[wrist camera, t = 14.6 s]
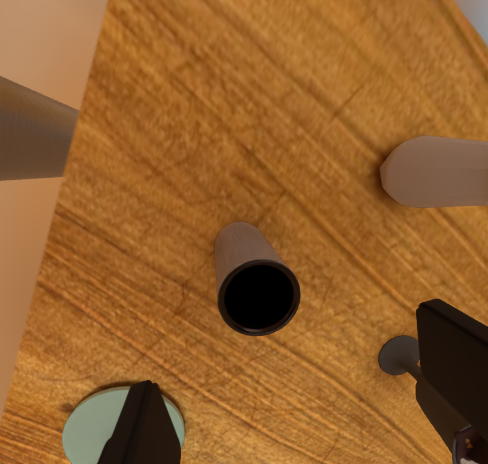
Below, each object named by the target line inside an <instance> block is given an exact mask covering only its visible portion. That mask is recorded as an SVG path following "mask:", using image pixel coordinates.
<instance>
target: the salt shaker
mask: <svg viewBox="0 0 488 464" xmlns="http://www.w3.org/2000/svg"><path fill="white" fill-rule="evenodd" d="M379 169H380V176H381V182H382V188H383V189H384V190H385V191H386V192H387V193H388V195H389V196H391V197H392V198H393V199H394V200H396V201H397V202H398V203H399V204H401V205H404V206H409V207H414V208H431V207H454V206H478V205H488V142H485V141H475V140H466V139H456V138H446V137H437V136H427V135H423V136H420V137H417V138H413V139H410V140H407V141H404V142H403V143H402V144H401V145H399V146H398V147H397V148H395V149H394V150H393V151H392V152H391V153H390V155H389V156H388V157H387V159H386V160H385V161H384V163H383V164H382V165H381V167H380V168H379Z"/></svg>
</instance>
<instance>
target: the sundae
mask: <svg viewBox="0 0 488 464" xmlns="http://www.w3.org/2000/svg"><path fill="white" fill-rule="evenodd" d="M419 359H420V355H419V343H418V341H417V340H416V339H415V338H413V337H410V336H399V337H396V338H394V339H391V340H390V341H389V342H388V343H386V344H385V345H384V347H383V348H382V350H381V352H380V355H379V365H380V367H381V369H382V370H383V371H384V372H385V373H387V374H390V375H401V374H404V373H406V372H408V373H410V374H411V375H412V376H413V377H414V378H415V379H416V380H417V383H416V400H417V402H418V404H419V405H420V407H421V409H422V410H423V412H424V414H425V415H426V417H427V418H428V419H429V421H430V422H431V424H432V425H433V427H434V428H435V429H436V431H437V432H438V434H439V435H440V436H441V438H442V439H443V441H444V442H445V444H446V446H447V447H448V449H449V450H450V452H451V453H452V461H453V464H488V442H487V441H486V440H485V439H484V438H483V437H482V436H481V435H480V434H479V433H478V432H477V431H476V430H475V429H474V428H473V427H472V426H471V425H470V424H469V423H468V422H467V421H466V420H465V419H464V418H463V417H462V416H461V415H460V414H459V413H458V412H457V411H456V410H455V409H454V408H453V407H452V406H451V405H450V404H449V403H448V402H447V401H446V400H445V399H444V398H443V397H442V396H441V395H440V394H439V393H438V392H437V391H436V390H435V389H434V388H433V387H432V386H431V385H430V384H429V383H428V382H427V381H426V380H425V378H424V377H423V375H422V372H421V368H420V367H419V366H418V365H417V363H418V361H419Z"/></svg>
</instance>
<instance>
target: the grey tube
mask: <svg viewBox="0 0 488 464" xmlns="http://www.w3.org/2000/svg"><path fill="white" fill-rule="evenodd" d="M214 251H215V269H216V286H217V302H218V309H219V312H220V314H221V316H222V318H223V320H224V321H225V322H226V324H227V325H228V326H229V327H231V328H232V329H233V330H235V331H237V332H239V333H241V334H244V335H249V336H264V335H268V334H271V333H274V332H276V331H278V330H280V329H281V328H283V327H284V326H285V325H286V324H288V323H289V322H290V320H291V319H292V318H293V317H294V315H295V313H296V311H297V309H298V307H299V303H300V297H301V292H300V286H299V283H298V280H297V278H296V276H295V275H294V273H293V272H292V271H291V269H290V268H289V267H288V266H287V264H286V263H285V262H284V261H283V259H282V258H281V257H280V256H279V254H278V253H277V252H276V251H275V249H274V248H273V247H272V246H271V244H270V243H269V242H268V240H267V239H266V238H265V237H264V235H263V234H262V233H261V232H260V231H259V230H258V229H257V228H256V227H255V226H254V225H252V224H250V223H247V222H233V223H230V224H228V225H226V226H225V227H224V228H223V229H222V230H221V231H220V232H219V233H218V235H217V237H216V240H215V246H214Z"/></svg>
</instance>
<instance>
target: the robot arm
mask: <svg viewBox="0 0 488 464" xmlns="http://www.w3.org/2000/svg"><path fill="white" fill-rule="evenodd" d="M416 318H417V330H418V343H419V355H420V367H421V372H422V375H423V377H424V378H425V380H426V381H427V382H428V383H429V384H430V385H431V386H432V387H433V388H434V389H435V390H436V391H437V392H438V393H439V394H440V395H441V396H442V397H443V398H444V399H445V400H446V401H447V402H448V403H449V404H450V405H451V406H452V407H453V408H454V409H455V410H456V411H457V412H458V413H459V414H460V415H461V416H462V417H463V418H464V419H465V420H466V421H467V422H468V423H469V424H470V425H471V426H472V427H473V428H474V429H475V430H476V431H477V432H478V433H479V434H480V435H481V436H482V437H483V438H484V439H485V440H486V441H487V442H488V327H487V326H486V325H484V324H482V323H480V322H479V321H477V320H475V319H473V318H472V317H470V316H468V315H466V314H465V313H463V312H461V311H459V310H458V309H456V308H454V307H453V306H451V305H449V304H447V303H446V302H444V301H442V300H440V299H433V300H429V301H426V302H422V303H420V305H419V308H418V309H417V310H416ZM180 460H181V445H180V441H179V438H178V436H177V433H176V430H175V428H174V425H173V423H172V420H171V418H170V415H169V412H168V410H167V407H166V405H165V402H164V399H163V397H162V394H161V392H160V389H159V387H158V384H157V383H153V384H152V382H151V381H150V380H147V381H143V382H139V383H136V384H133V385H131V387H130V389H129V392H128V394H127V397H126V400H125V402H124V405H123V407H122V410H121V413H120V415H119V418H118V421H117V423H116V426H115V428H114V431H113V434H112V436H111V438H109V439H108V440H107V441H106V443H105V445H104V447H103V450H102V452H101V455H100V457H99V460H98V462H97V464H180Z"/></svg>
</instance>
